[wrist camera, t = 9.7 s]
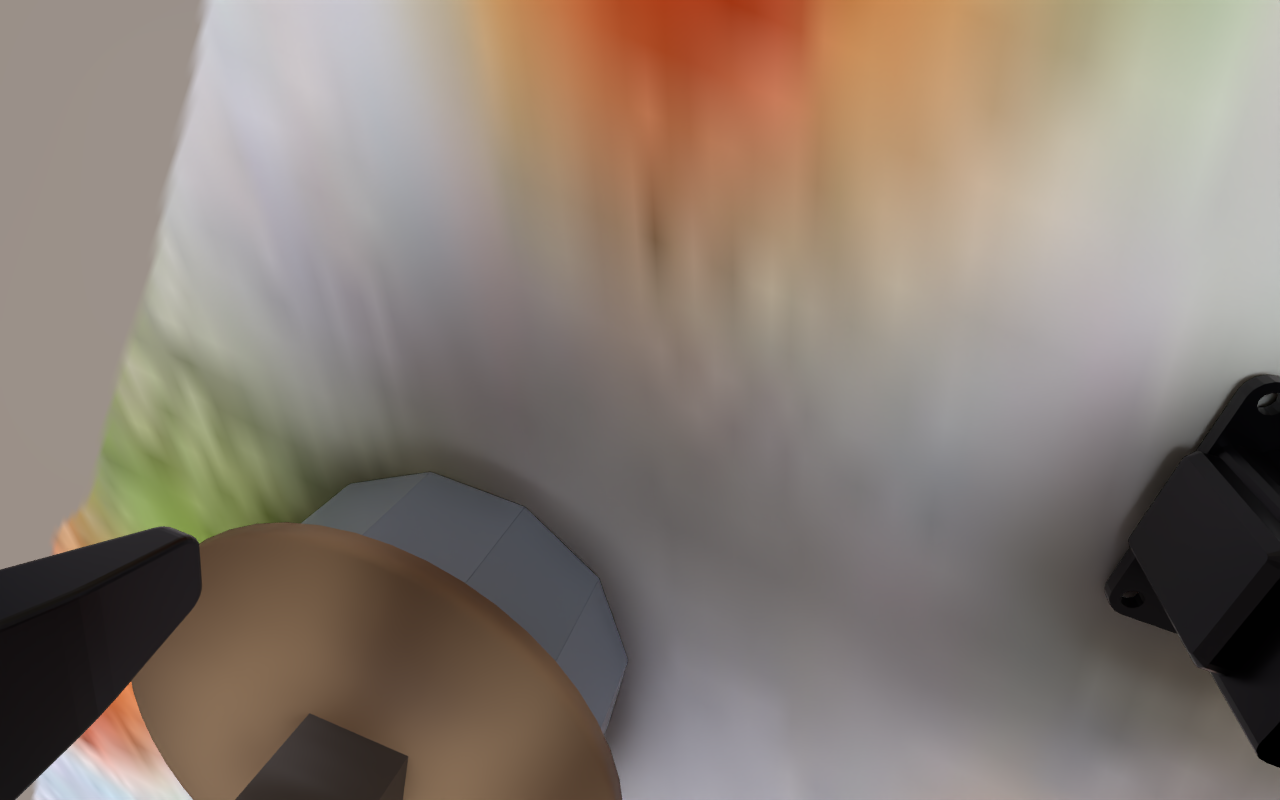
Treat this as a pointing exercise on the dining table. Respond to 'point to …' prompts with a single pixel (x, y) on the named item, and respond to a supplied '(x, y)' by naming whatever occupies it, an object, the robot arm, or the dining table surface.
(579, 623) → the slate bowl
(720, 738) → the dining table surface
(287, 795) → the walnut lid
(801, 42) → the dining table surface
